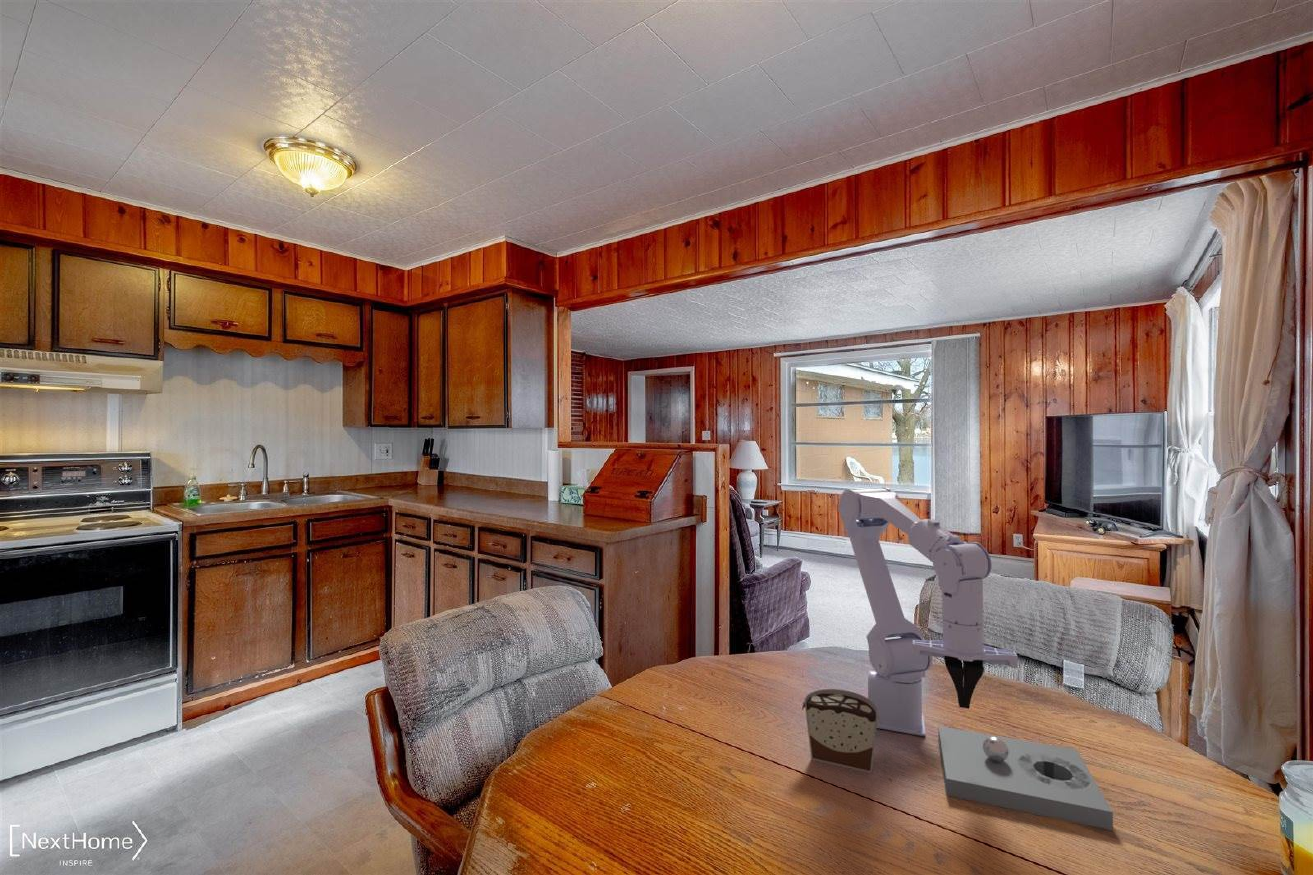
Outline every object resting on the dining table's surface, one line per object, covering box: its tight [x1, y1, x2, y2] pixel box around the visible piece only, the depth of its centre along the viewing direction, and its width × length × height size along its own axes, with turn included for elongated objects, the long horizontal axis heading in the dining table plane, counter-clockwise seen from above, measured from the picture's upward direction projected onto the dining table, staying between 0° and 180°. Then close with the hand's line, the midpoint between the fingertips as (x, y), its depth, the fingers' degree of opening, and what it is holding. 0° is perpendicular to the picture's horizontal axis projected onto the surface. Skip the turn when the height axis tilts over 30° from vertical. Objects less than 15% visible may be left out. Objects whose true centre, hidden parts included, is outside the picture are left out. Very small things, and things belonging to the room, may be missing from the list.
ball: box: [983, 735, 1009, 762], centre depth 88 cm, size 4×4×4 cm
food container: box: [801, 688, 881, 774], centre depth 94 cm, size 12×6×10 cm, turn 65°
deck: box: [937, 725, 1114, 831], centre depth 87 cm, size 20×16×2 cm
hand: (963, 705), depth 90 cm, fingers closed
